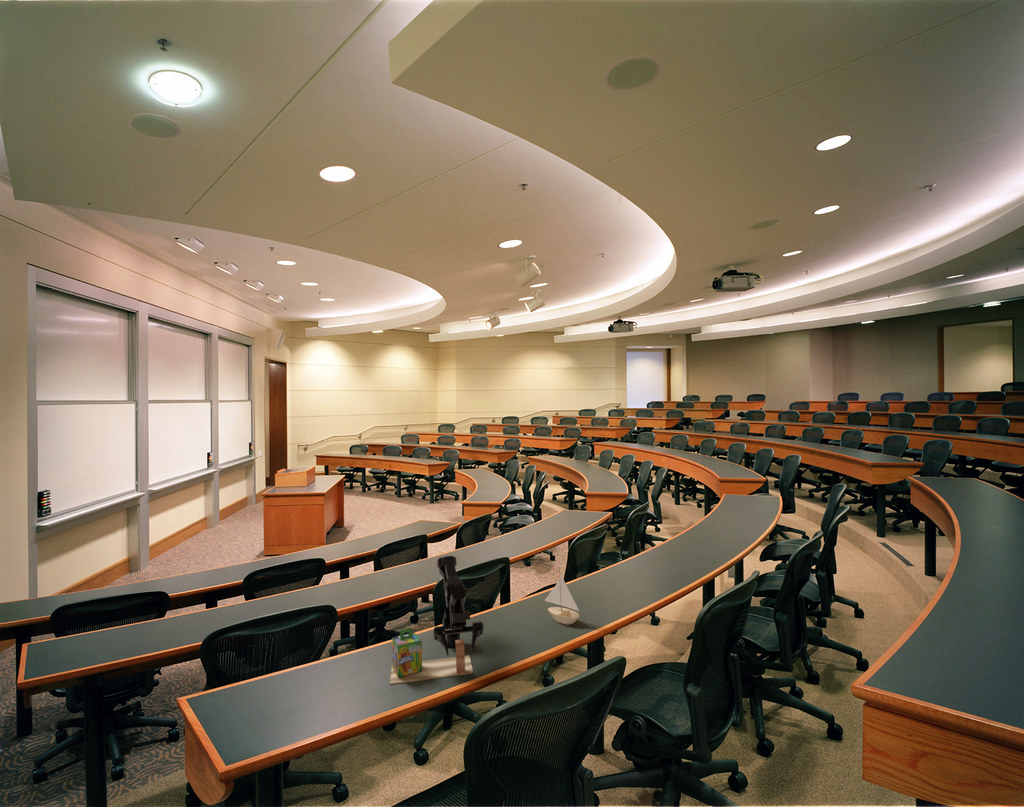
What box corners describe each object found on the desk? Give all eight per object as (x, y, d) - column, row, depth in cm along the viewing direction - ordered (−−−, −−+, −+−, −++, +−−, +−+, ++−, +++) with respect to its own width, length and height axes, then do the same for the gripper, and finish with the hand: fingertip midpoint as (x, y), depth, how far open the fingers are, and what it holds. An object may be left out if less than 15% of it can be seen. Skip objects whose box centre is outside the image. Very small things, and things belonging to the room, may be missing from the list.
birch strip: (392, 666, 185) (391, 635, 186) (469, 656, 191) (468, 626, 192) (389, 684, 172) (388, 651, 172) (473, 673, 177) (472, 641, 178)
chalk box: (398, 679, 174) (397, 637, 175) (392, 668, 182) (391, 628, 183) (423, 672, 179) (422, 631, 180) (415, 662, 187) (414, 623, 188)
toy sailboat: (583, 568, 220) (571, 572, 214) (586, 624, 218) (574, 630, 212) (549, 560, 235) (537, 564, 229) (551, 613, 233) (539, 618, 227)
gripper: (433, 605, 182) (434, 647, 170) (482, 600, 185) (486, 641, 174) (433, 619, 189) (434, 660, 178) (480, 613, 193) (484, 654, 181)
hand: (460, 653), depth 177 cm, fingers open, 9 cm apart
